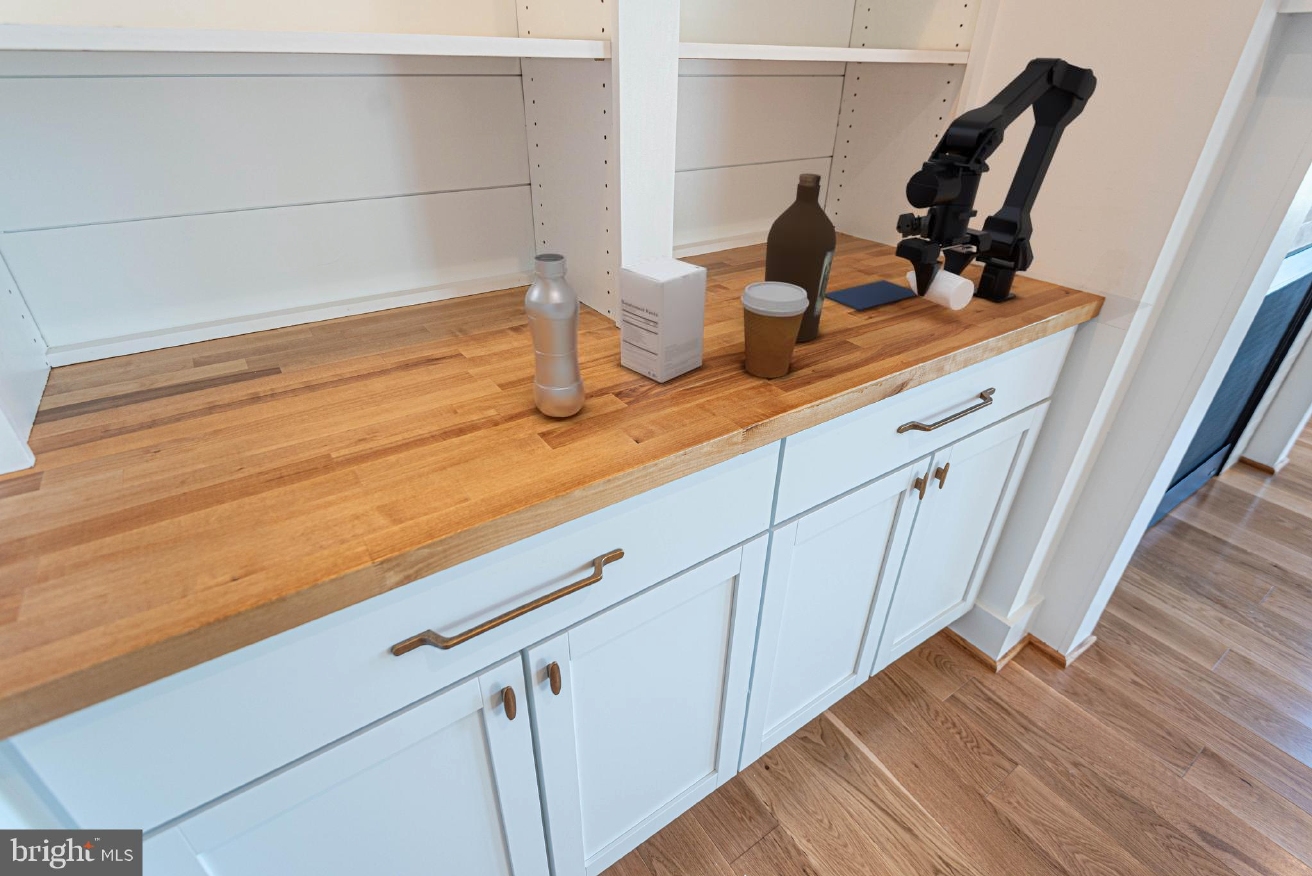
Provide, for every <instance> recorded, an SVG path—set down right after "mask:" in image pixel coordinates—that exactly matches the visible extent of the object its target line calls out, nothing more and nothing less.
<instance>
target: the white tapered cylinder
mask: <svg viewBox="0 0 1312 876" xmlns="http://www.w3.org/2000/svg"><path fill="white" fill-rule="evenodd" d="M905 278H906V280H907V281H908V282H909V284H910V288H911V290H913V291H914V292H915V293H916V294H917V295H918V293H917V285H916V276H915V270H911V271H908V272H907V273H906V276H905ZM974 289H975V284H974V282H973V281H972V280H971V279H968V278H966V277H963V276H960V275H959V276H958V275H955V274H953V273H950V272H947V271H945V270H943V269H942V268H940V269H939V271H938V273H937V275H936V276H935V278H934V280H933V282H932V284H931V286H930V287H929V289H928V291H927V292H926V294H925V296H924V297H921V296H919V298H920V297H921V298H922V299H924V300H927V301H929V302H931V303H934V304H937V305H940V306H942V307H945V308H947V309H949V310H952V311H960V310H962V309H964V308H965V307H966V306H967V305H968V304H969V303H970V302H971V300H972V298H973V296H974V295H973V293H974Z"/></svg>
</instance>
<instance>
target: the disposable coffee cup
mask: <svg viewBox="0 0 1312 876" xmlns="http://www.w3.org/2000/svg"><path fill="white" fill-rule="evenodd" d="M740 301H741V303H742V304H741V306H743V333H744V334H743V335H744V339H743V340H744V365H745V370H746V372H748V373H749V374H751V375H754V376H756V377H760V378H766V379H768V378H769V379H773V378H774V379H775V378H779V377H783V376H785V375H786V374H788V371H789V366H790V364H791V360H792V356H793V352H794V350H795V345H796V343H795V342H796V339H797V336H798V332H799V328H800V325H801V321H802V318H803V314H804V311H805V310H806V308H807V307H808V305H809V301H808V299H807V293H806V291H805V290H804V289H802V288H801V287H798V286H796V285H792V284H788V283H782V282H765V281H758V282H753V283H750V284H748V285H747V286H746V287H745V288H744V291H743V294H741V296H740Z"/></svg>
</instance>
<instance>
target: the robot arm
mask: <svg viewBox="0 0 1312 876" xmlns="http://www.w3.org/2000/svg"><path fill="white" fill-rule="evenodd" d="M1026 64H1027V65H1026V66H1025V69H1024V70H1023V71H1021V72H1020V73H1019V74H1018V75H1017V76H1016V77H1015V78H1014V79H1012V81H1011V82H1008V84H1007V85H1006V86H1005V87H1004V88H1003V89H1002V90H1000V91H999V92H998V93H997V94H996V95H995V96H994V97H992V98H991V100H989V101H988V102H987V103H986V104H984V105H982V106H980V107H977V108H973V109H970V110H967V111H966V112H964V113H962V114H961V115H959V116H958V117H956V118H955V119H953V121H952V122H951V123H950V124H949V125H948V127H947V128H946V130H945V132H944V133H943V135H942V136H941V138H940V140H939V141H938V143H937V145H936V146H935V147H934V150H933V151H932V152H931V154H930V155H929V157H928V159H927V161H923V163H922V166H921V169H920V170H918V171H916V172H915V173H914V174H912V176H911V177H910V178H909V181H908V182H907V183H906V186H905V196H906V199H907V202H908V203H909V205H911V206H912V207H913V208H915V209H917V210H922V209H927V212H926V215H922V216H915V214H914V213H913V212H905V213H902V214H899V216H898V219H897V222H896V226H895V230H896V231H897V233H898V234H901V240H900V241H899V242H897V244H896V248H895V253H894V256H895V257H898V258H902V259H905V260H907V261H909V262H910V263H911V265H912V266H913V271H915V276H916V285H917V293H918V296H917V297H920V296H921V298H922V297H924V296H925V294H926V292H927V291H928V289H929V287H930V286H931V284H932V282H933V280H934V278H935V276H936V275H937V273H938V271H939V269H941V267H942V265H943V269H942V270H945V271H947V272H950V273H953V274H955V275H958V276H960V275H961V274H962V273H963V272H964V271H965V270H966V268H967V267H969V265H970V264H971V263H972V262H973V261H975V262H979V263H983V264H984V266H983V269H982V272H981V275H980V277H979V282H978V285H977V288H974V293H973V296H976V297H979V298H982V299H986V300H989V301H991V302H995V303H1002V302H1005V301H1008V300H1012V299H1015V298H1017V294H1016V293H1012V292H1011V290H1012V286H1013V283H1014V281H1015V277H1016V274H1017V272H1027V271H1028V269H1029V268H1030V267H1031V265H1032V263H1033V260H1034V253H1033V249H1032V245H1031V237H1032V235H1033V231H1034V228H1033V223H1032V217H1031V213H1032V209H1033V208H1034V205H1035V202H1036V200H1037V198H1038V195H1039V193H1040V190H1041V188H1042V185H1043V183H1044V181H1045V178H1046V176H1047V173H1048V171H1049V167H1050V165H1051V163H1052V161H1053V158H1054V156H1055V153H1056V151H1057V149H1058V147H1059V144H1060V141H1061V139H1062V136H1063V134H1064V131H1065V129H1066V128H1067V127H1068V126H1069V125H1070V124H1071V123H1073V121H1075V120H1076V119H1077V118H1078V117H1079V116H1081V114H1082V113H1083V112H1084V110H1085V108H1086V106H1087V104H1088V102H1089V100H1090V99H1091V98H1092V96H1093V95H1094V93H1095V91H1096V89H1097V88H1096V87H1097V84H1098V80H1097V79H1098V78H1097V76H1095V75H1094V71H1093V69H1092V68H1085V67H1084V68H1083V67H1080V66H1078V65H1074V64H1071V63H1069V62H1068V61H1066V60H1065V59H1062V58H1061V57H1036V58H1032V59H1031V60H1029V62H1028V63H1026ZM1029 107H1031V109H1032V112H1033V113H1032V114H1033V118H1034V119H1033V120H1034V125H1033V127H1032V130H1031V132H1030V135H1029V137H1028V139H1027V142H1026V145H1025V148H1024V150H1023V153H1022V156H1021V158H1020V160H1019V163H1018V165H1017V168H1016V171H1015V173H1014V175H1013V178H1012V180H1011V183H1010V186H1009V188H1008V191H1007V193H1006V196H1005V199H1004V201H1003V204H1002V206H1001V208H1000V209H998V210H997V211H996V212H995V213H994V214H993V215H988V216H987V217H986V218H985V219H984V221H983V226H982V228H981V230H979V229H977V228H976V229H975V228H971V227H969V223H970V220H971V218H976V217H977V215H978V212H979V210H978V209H974V205H975V202H976V197H977V194H978V190H979V186H980V183H981V179H982V175H983V174H984V173H989V171H990V170H991V169H990V166H989V164H988V163H987V162H986V161H987V160H988V159H989V158H990V157H991V156H992V155H993V154H994V153H995V151H996V150H997V149H998V148H999V147H1000V145H1001V144H1002V143H1003V142H1004V138H1005V131H1006V130H1007V128H1008V127H1009V126H1011V124H1012V123H1013V122H1015V121H1016V120H1017V119H1018V118H1019V117H1020V116H1021V115H1022V114H1023V113H1024V112H1025V111H1026V110H1027V109H1028V108H1029ZM917 236H919V237H917ZM908 237H909V238H908ZM974 247H975V251H974ZM941 252H942V254H943V257H944V261H943V260H939V258H940V255H941Z"/></svg>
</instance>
